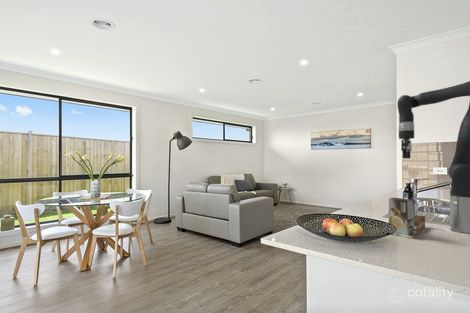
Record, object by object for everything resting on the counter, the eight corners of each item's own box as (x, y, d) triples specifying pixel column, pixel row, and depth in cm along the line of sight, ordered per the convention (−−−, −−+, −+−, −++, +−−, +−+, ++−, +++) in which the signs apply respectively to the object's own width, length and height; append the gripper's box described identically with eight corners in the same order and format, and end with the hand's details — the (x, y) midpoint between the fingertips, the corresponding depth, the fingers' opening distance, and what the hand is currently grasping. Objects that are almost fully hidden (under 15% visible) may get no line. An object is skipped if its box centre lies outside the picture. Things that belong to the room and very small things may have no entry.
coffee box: (415, 233, 120) (415, 199, 120) (408, 235, 117) (407, 200, 117) (395, 229, 128) (395, 197, 128) (388, 230, 125) (387, 198, 125)
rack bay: (425, 227, 133) (425, 215, 133) (416, 239, 113) (416, 225, 113) (395, 223, 142) (395, 212, 142) (382, 233, 122) (382, 220, 122)
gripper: (411, 128, 139) (412, 158, 139) (416, 130, 150) (416, 158, 149) (396, 129, 144) (396, 158, 144) (401, 131, 155) (401, 158, 155)
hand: (406, 158), depth 147 cm, fingers open, 8 cm apart
